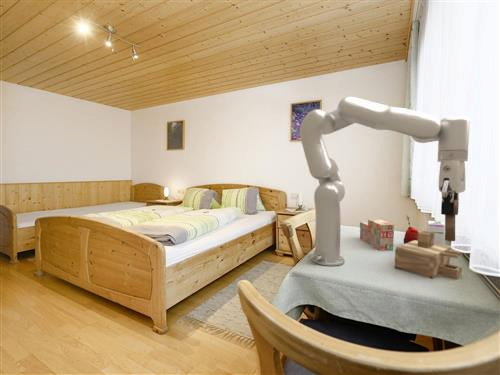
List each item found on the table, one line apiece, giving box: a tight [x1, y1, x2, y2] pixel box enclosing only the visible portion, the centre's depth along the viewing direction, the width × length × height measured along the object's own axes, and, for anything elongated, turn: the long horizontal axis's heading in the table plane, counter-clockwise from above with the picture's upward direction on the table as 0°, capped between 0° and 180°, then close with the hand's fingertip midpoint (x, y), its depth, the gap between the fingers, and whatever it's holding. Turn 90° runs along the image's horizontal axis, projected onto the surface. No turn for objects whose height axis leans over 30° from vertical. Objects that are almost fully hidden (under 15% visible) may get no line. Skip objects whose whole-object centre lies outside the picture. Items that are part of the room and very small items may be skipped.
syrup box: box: [427, 220, 446, 246], centre depth 107 cm, size 6×6×14 cm
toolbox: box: [394, 248, 463, 280], centre depth 93 cm, size 16×17×7 cm
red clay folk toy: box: [403, 214, 419, 244], centre depth 122 cm, size 8×7×15 cm
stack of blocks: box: [359, 218, 395, 252], centre depth 126 cm, size 21×6×12 cm, turn 0°
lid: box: [395, 230, 463, 259], centre depth 92 cm, size 16×17×7 cm
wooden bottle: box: [444, 200, 459, 242], centre depth 83 cm, size 4×4×13 cm
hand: (449, 213), depth 83 cm, fingers closed on wooden bottle, 3 cm apart
